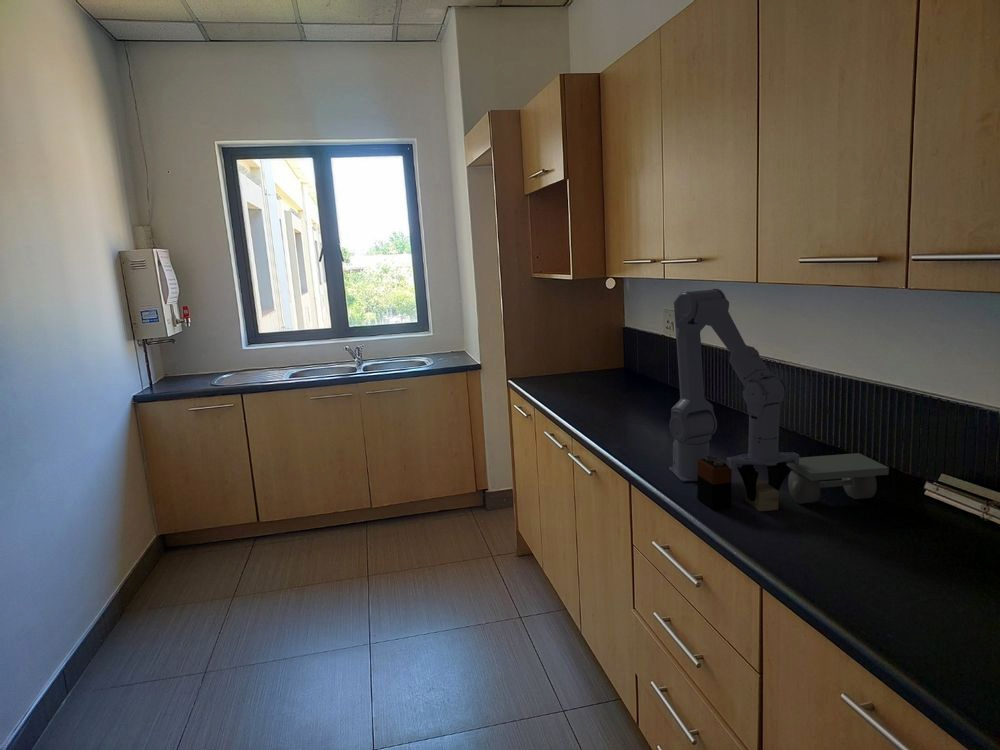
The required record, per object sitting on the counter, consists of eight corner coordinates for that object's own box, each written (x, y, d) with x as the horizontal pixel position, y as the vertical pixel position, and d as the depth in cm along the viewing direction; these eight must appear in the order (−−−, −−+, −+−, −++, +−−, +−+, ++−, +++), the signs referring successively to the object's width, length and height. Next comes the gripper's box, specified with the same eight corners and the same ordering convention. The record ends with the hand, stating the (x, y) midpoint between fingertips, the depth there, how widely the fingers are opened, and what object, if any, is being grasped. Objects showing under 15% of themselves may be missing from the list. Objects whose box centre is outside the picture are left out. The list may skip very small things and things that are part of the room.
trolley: (785, 496, 137) (786, 458, 136) (856, 490, 138) (858, 453, 137) (809, 514, 128) (811, 473, 126) (886, 507, 129) (888, 467, 127)
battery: (713, 510, 132) (713, 464, 130) (696, 499, 138) (696, 454, 136) (732, 508, 133) (733, 462, 131) (714, 496, 139) (715, 452, 137)
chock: (745, 500, 136) (746, 482, 135) (763, 498, 136) (764, 481, 136) (759, 511, 130) (759, 492, 129) (778, 509, 130) (778, 491, 130)
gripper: (737, 443, 126) (736, 508, 129) (808, 438, 127) (805, 503, 130) (722, 433, 133) (721, 495, 135) (789, 429, 134) (787, 490, 136)
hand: (761, 498), depth 133 cm, fingers closed on chock, 4 cm apart
